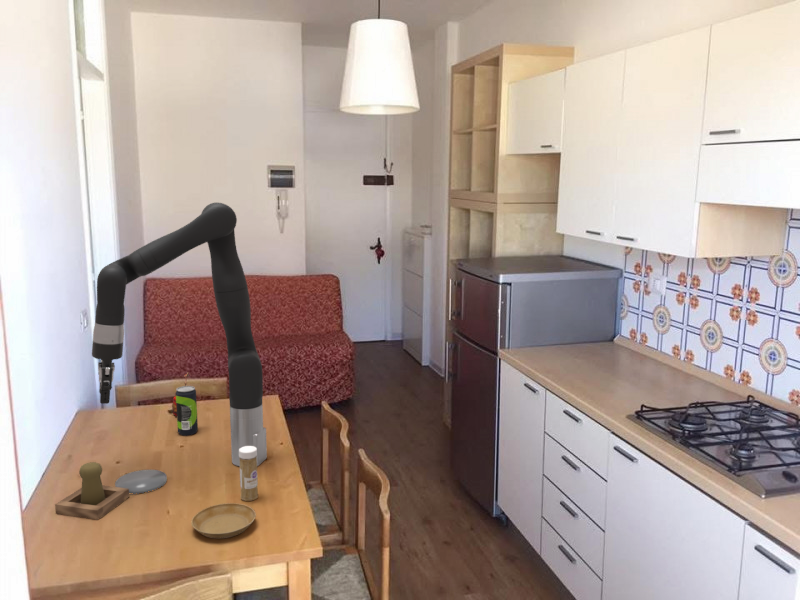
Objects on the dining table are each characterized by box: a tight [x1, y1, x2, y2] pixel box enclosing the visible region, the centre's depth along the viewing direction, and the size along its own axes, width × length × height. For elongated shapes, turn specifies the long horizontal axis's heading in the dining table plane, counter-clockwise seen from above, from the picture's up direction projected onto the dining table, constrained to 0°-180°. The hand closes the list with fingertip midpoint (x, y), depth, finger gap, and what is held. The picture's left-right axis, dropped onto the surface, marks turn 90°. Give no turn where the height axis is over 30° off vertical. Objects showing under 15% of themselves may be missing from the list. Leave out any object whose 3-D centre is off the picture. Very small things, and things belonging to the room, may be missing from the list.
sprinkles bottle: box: [239, 446, 259, 502], centre depth 172 cm, size 5×5×14 cm
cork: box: [78, 461, 106, 506], centre depth 168 cm, size 6×6×11 cm
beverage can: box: [175, 385, 199, 437], centre depth 216 cm, size 6×6×15 cm
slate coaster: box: [114, 469, 168, 495], centre depth 181 cm, size 13×13×1 cm
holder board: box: [54, 484, 130, 521], centre depth 169 cm, size 12×12×2 cm
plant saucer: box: [191, 502, 257, 540], centre depth 159 cm, size 15×15×3 cm
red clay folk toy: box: [171, 371, 190, 418], centre depth 233 cm, size 8×7×15 cm
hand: (104, 398), depth 180 cm, fingers open, 8 cm apart
